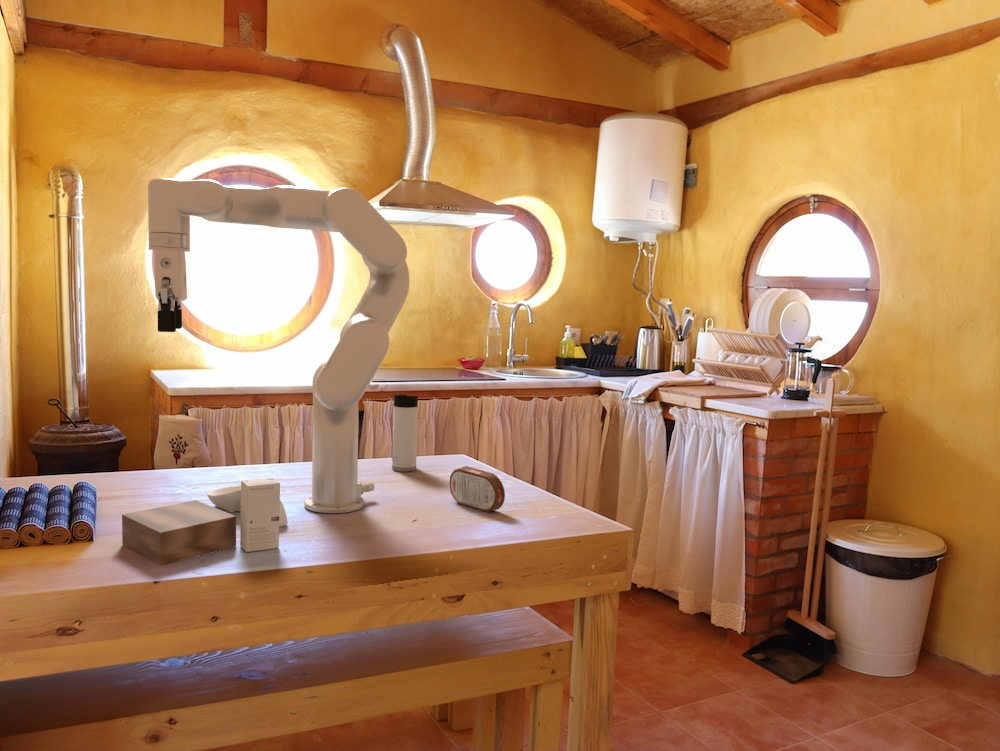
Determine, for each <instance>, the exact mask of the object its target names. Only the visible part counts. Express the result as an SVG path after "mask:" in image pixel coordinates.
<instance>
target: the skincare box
mask: <svg viewBox="0 0 1000 751" xmlns="http://www.w3.org/2000/svg"><path fill="white" fill-rule="evenodd" d="M240 486H241V512H240V523H239V524H240V526H239V527H240V528H239V529H240V530H239V531H240V537H239V538H240V541H239V545H240V546H241V548H242V549H243V550H244V551H245V552H246V553H250V552H256V551H265V550H272V549H273V550H274V549H278V548H279V546H280V527H279V511H280V500H281V483H280V482H279V481H278V480H276V479H275V478H258V479H250V480H249V479H247V480H241V482H240Z"/></svg>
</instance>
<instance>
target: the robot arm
mask: <svg viewBox="0 0 1000 751" xmlns="http://www.w3.org/2000/svg"><path fill="white" fill-rule="evenodd" d="M147 201H148V202H147V206H148V207H147V208H148V209H147V211H148V213H147V214H148V215H147V217H148V250H149V251H150V250H151V251H154V290H155V299H156V300H158V304H157V305H158V306H157V331H158V332H159V333H175V332H176V331H177V329H179V330H180V329H182V328H183V318H182V317H183V314H182V313H183V309H182V303H181V302H184V301H186V300H187V299H188V288H187V286H188V285H187V260H186V254H185V252H186V253H187V252H191V227H190V226H191V224H190V223H191V218H190V216H192V217H199V218H203V219H204V220H206V221H209V222H213V223H214V222H215V223H227V224H228V223H229V224H239V225H240V224H241V225H251V226H252V225H253V226H263V227H264V226H266V227H270V228H275V229H276V228H277V229H278V228H279V229H281V228H282V229H293V230H294V229H295V230H309V231H319V232H331V233H340V235H342V237H344V238H345V240H347V242H348V243H349V244H350V245H351V246H352V247H353V248H354V249H355V250H356V252H358V253H359V255H360V256H361V258H362V260H363V263H364V264H365V266H366V267H367V268H368V271H369V280H368V284H367V287H366V289H365V290H364V293H363V294H362V295H361V298H360V299H359V302H358V304H357V305H356V307H355V308H354V311H352V314H351V315H350V317H349V318H348V320H347V321H346V322H345V324H344V325H343V327H342V328H341V330H340V331H341V332H340V334H339V340H338V343H337V345H336V346H335V348H334V349H333V352H332V353H331V355H330V357H329V358H328V360H325V361H324V362H323V363H321V364H320V365H319V366H318V367H317V368H316V369H315V372H314V374H313V377H312V451H311V452H312V456H311V457H312V459H311V460H312V462H311V463H312V464H311V465H312V470H311V471H312V472H311V474H312V476H311V496H309V497H307V498H305V500H304V503H303V504H304V508H305V509H307V510H308V511H311V512H315V513H320V514H321V513H322V514H342V513H343V514H344V513H350V512H355V511H358V510H361V509H362V508H363V507H364V506H365V498H363V497H362V495H363V494H364V493H369V492H373V491H374V490H375V485H374V483H373V482H372V481H371V482H367V483H366V482H365V483H363V484H362V482H358V471H359V470H358V464H359V463H358V461H359V460H358V459H359V420H360V419H359V401H360V400H361V398H362V397H363V396H364V394H365V392H366V390H367V389H368V388H369V386H370V384H371V382H373V379H374V377H375V375H376V373H377V371H378V370H379V368H380V367H381V365H382V363H383V362H384V360H385V358H386V356H387V353H388V351H389V347H390V335H389V334H390V333H389V332H390V331H391V330H392V328H393V326H394V324H395V322H396V320H397V318H398V316H399V314H400V312H401V310H402V308H403V307H404V304H405V302H406V300H407V297H408V294H409V289H410V272H409V268H408V264H407V261H406V260H407V256H408V250H407V248H408V247H407V245H406V241H405V240H404V239H403V237H402V235H401V234H400V233H399V232H398V231H397V230H396V229H395V228H394V227H393V226H392V224H390V223H389V221H387V220H386V218H384V216H382V215H381V214H380V212H379V211H378V210H376V208H375V207H374V205H372V204H371V203H370V202H369V201H368V200H367V198H365V196H363V194H362V193H361V192H359V191H357V190H356V189H354V188H351V187H340V188H337V189H328V188H327V189H326V188H314V187H306V186H305V187H304V186H296V185H295V186H294V185H287V184H286V185H283V184H282V185H275V186H272V187H265V188H253V187H252V188H248V187H238V186H237V187H236V186H226V185H223V184H222V183H220V182H219V181H216V180H213V179H205V178H204V179H194V180H193V179H191V180H190V179H189V180H181V179H177V178H169V177H168V178H167V177H166V178H164V177H156V178H152V179H151V180H149V182H148V185H147Z"/></svg>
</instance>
